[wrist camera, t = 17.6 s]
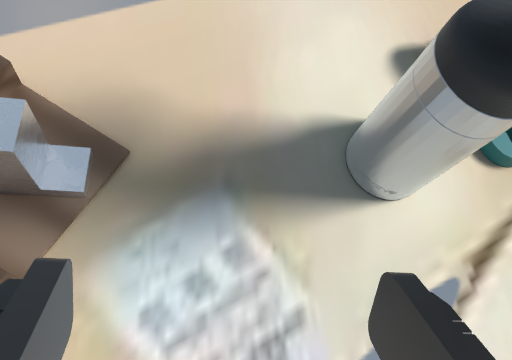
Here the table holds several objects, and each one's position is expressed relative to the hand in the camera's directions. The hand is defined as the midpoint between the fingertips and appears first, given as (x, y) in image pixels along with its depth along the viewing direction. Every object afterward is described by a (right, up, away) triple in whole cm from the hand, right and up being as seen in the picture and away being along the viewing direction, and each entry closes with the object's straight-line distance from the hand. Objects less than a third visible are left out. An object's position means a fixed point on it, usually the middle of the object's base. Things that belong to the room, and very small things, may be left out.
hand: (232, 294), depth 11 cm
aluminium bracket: (-19, +4, +29) cm, 35 cm away
